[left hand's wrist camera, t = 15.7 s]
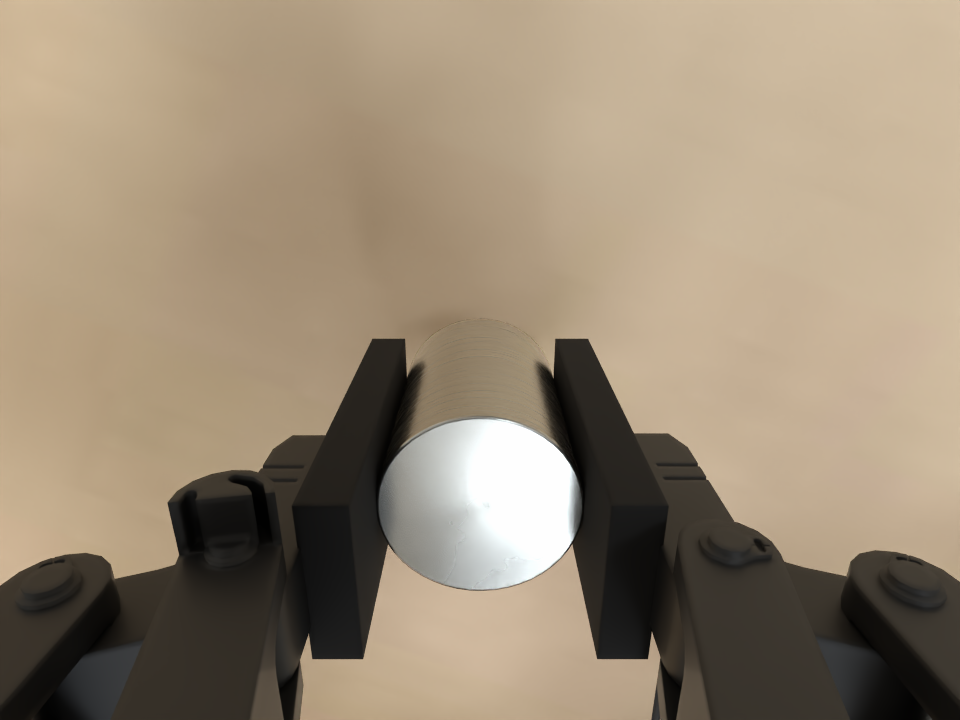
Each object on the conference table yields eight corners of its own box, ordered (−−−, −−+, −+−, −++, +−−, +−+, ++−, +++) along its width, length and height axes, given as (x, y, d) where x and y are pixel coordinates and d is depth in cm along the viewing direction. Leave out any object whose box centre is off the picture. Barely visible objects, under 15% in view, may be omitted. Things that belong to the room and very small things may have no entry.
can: (378, 377, 15) (331, 497, 10) (490, 287, 14) (497, 374, 9) (470, 474, 16) (465, 622, 11) (580, 396, 15) (626, 522, 10)
